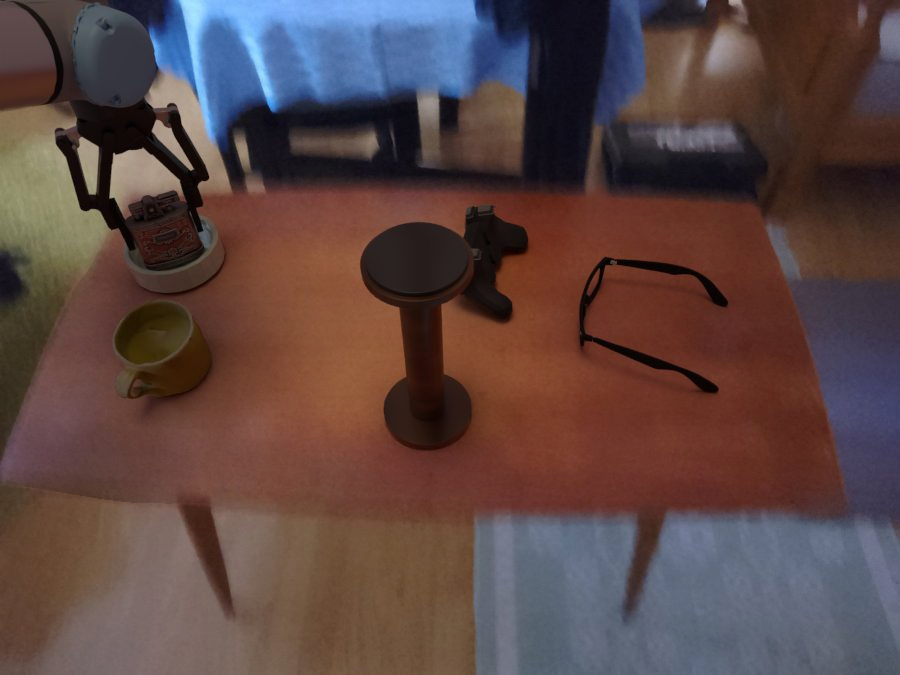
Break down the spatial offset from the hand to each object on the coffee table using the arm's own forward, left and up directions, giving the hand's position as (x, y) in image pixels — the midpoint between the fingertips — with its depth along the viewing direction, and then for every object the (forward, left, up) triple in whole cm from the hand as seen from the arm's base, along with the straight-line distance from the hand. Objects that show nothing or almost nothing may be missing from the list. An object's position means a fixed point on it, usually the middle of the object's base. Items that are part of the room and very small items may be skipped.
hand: (165, 234), depth 90 cm
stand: (+22, -37, -5) cm, 43 cm away
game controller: (+38, -20, -6) cm, 43 cm away
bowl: (0, 0, -5) cm, 5 cm away
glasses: (+52, -37, -6) cm, 64 cm away
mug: (-4, -20, -6) cm, 21 cm away
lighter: (0, 0, -4) cm, 4 cm away
